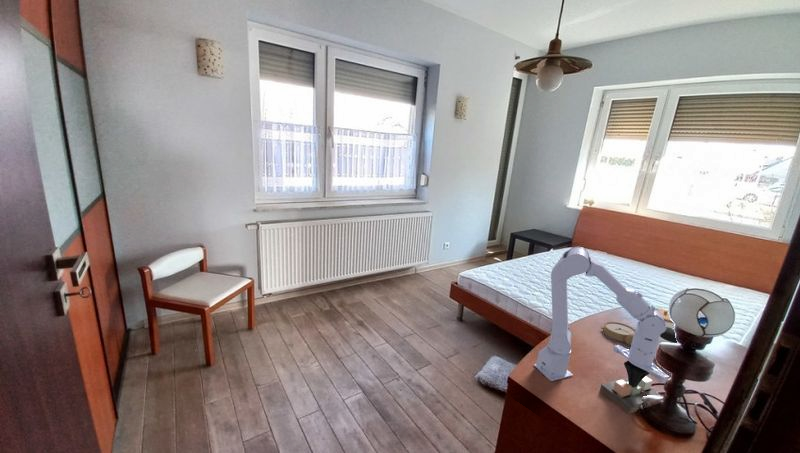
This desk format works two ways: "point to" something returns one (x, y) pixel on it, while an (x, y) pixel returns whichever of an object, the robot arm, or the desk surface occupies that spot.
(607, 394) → the console
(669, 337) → the medicine bottle
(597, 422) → the desk surface
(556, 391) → the desk surface
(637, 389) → the pale green cube
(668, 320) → the lidded jar
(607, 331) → the alarm clock
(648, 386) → the white cube
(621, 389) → the peach cube
